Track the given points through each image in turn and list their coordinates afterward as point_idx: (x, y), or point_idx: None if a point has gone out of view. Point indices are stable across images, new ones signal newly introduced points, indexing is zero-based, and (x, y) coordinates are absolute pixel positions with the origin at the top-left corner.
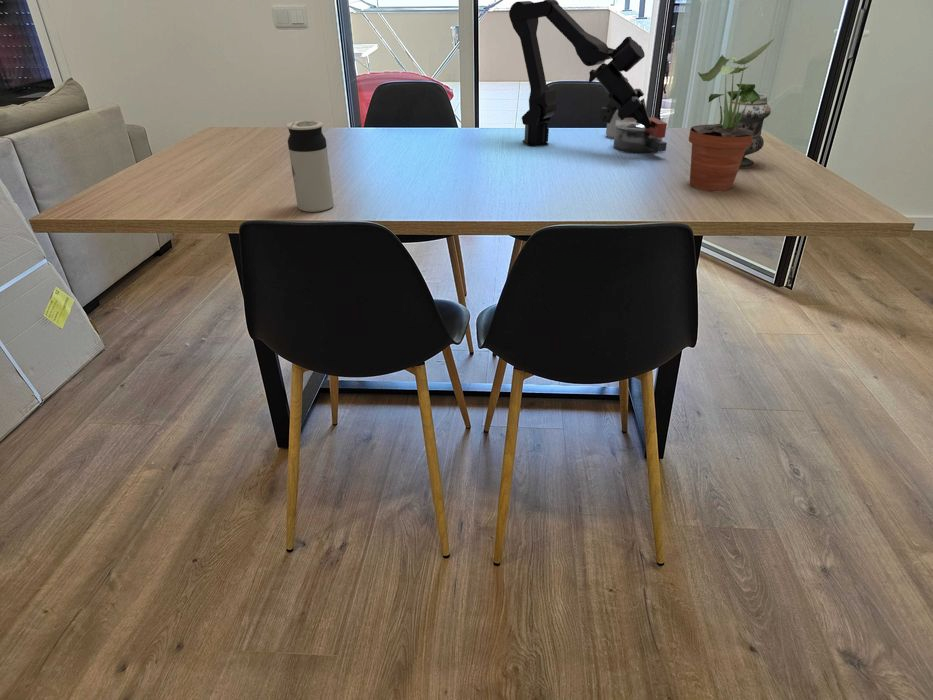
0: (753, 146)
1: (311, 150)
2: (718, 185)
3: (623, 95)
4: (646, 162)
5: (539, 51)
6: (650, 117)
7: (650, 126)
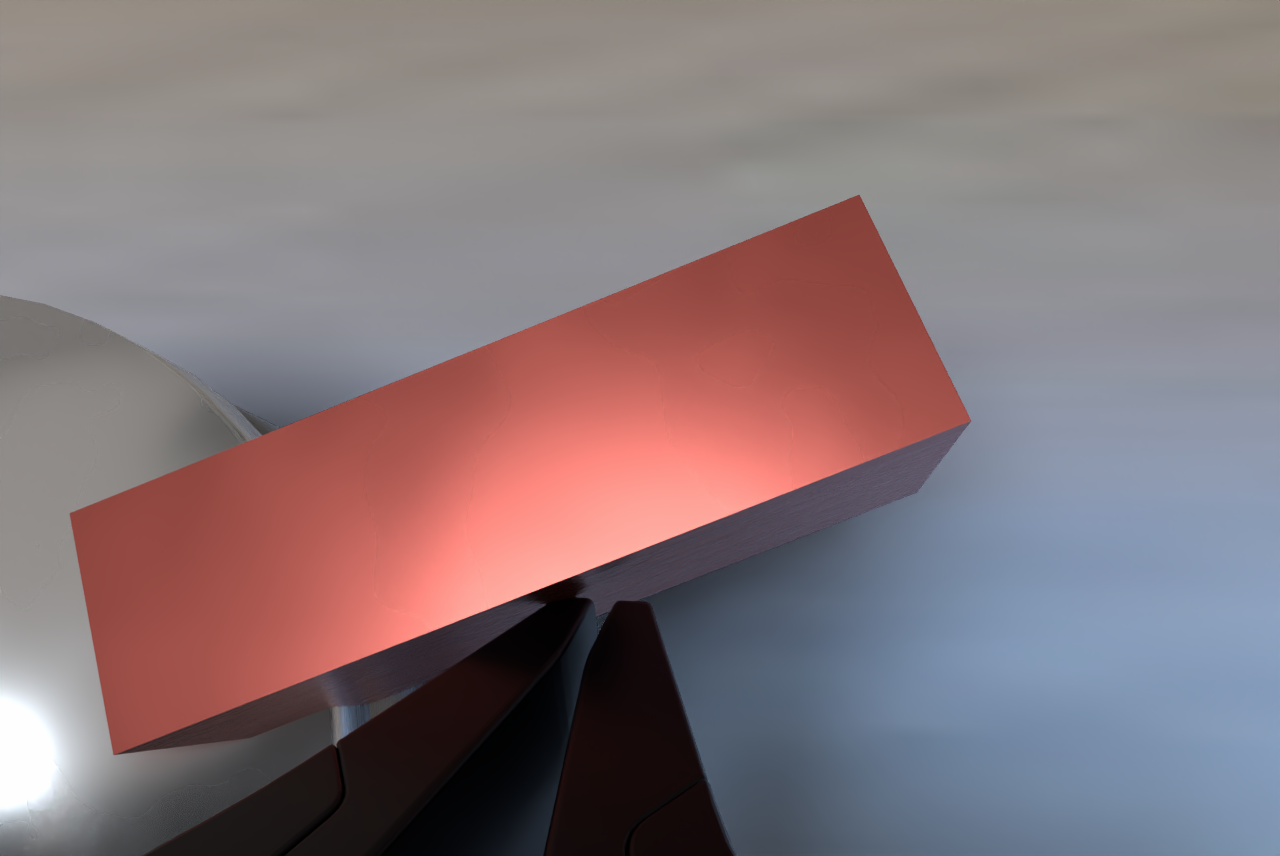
0: None
1: None
2: None
3: None
4: (983, 632)
5: None
6: (107, 606)
7: (648, 609)
